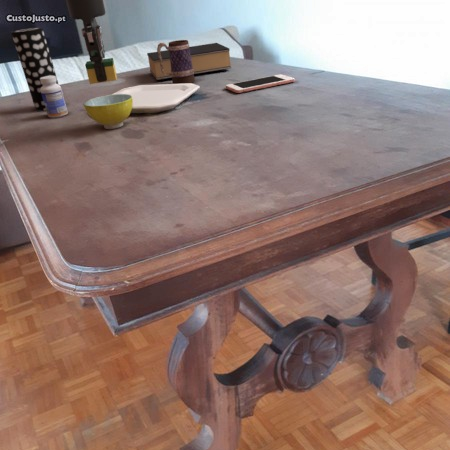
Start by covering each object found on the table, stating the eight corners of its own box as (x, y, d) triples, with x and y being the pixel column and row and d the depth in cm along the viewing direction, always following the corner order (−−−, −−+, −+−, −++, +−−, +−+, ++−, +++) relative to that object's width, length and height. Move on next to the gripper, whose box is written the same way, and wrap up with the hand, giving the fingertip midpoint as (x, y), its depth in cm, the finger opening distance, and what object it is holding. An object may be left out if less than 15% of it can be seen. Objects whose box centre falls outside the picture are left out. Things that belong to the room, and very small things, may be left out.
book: (150, 73, 167) (146, 53, 163) (218, 63, 171) (216, 42, 167) (157, 82, 153) (153, 60, 149) (231, 70, 157) (229, 48, 153)
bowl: (109, 118, 121) (103, 93, 118) (146, 120, 116) (141, 93, 113) (80, 132, 113) (73, 105, 110) (119, 134, 108) (112, 106, 105)
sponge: (89, 84, 107) (85, 64, 104) (91, 80, 110) (86, 61, 108) (116, 80, 107) (112, 60, 105) (116, 76, 111) (112, 57, 109)
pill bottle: (49, 114, 132) (38, 76, 126) (69, 111, 132) (58, 73, 127) (47, 119, 127) (35, 80, 122) (67, 116, 128) (56, 77, 122)
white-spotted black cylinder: (32, 112, 136) (6, 33, 124) (40, 105, 143) (16, 29, 131) (60, 109, 136) (37, 29, 124) (67, 102, 143) (46, 26, 131)
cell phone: (295, 81, 133) (295, 78, 133) (237, 93, 129) (237, 90, 128) (280, 77, 140) (280, 73, 140) (225, 88, 136) (224, 84, 135)
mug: (192, 79, 151) (187, 37, 144) (197, 83, 146) (191, 39, 139) (161, 84, 150) (154, 42, 143) (164, 88, 144) (157, 44, 137)
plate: (129, 93, 144) (127, 85, 143) (205, 90, 136) (204, 82, 135) (86, 116, 125) (84, 108, 124) (172, 115, 118) (170, 106, 116)
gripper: (68, -8, 104) (89, 75, 114) (60, -5, 93) (84, 87, 103) (102, -13, 105) (120, 71, 115) (98, -10, 93) (118, 83, 103)
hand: (103, 78), depth 109 cm, fingers closed on sponge, 4 cm apart
